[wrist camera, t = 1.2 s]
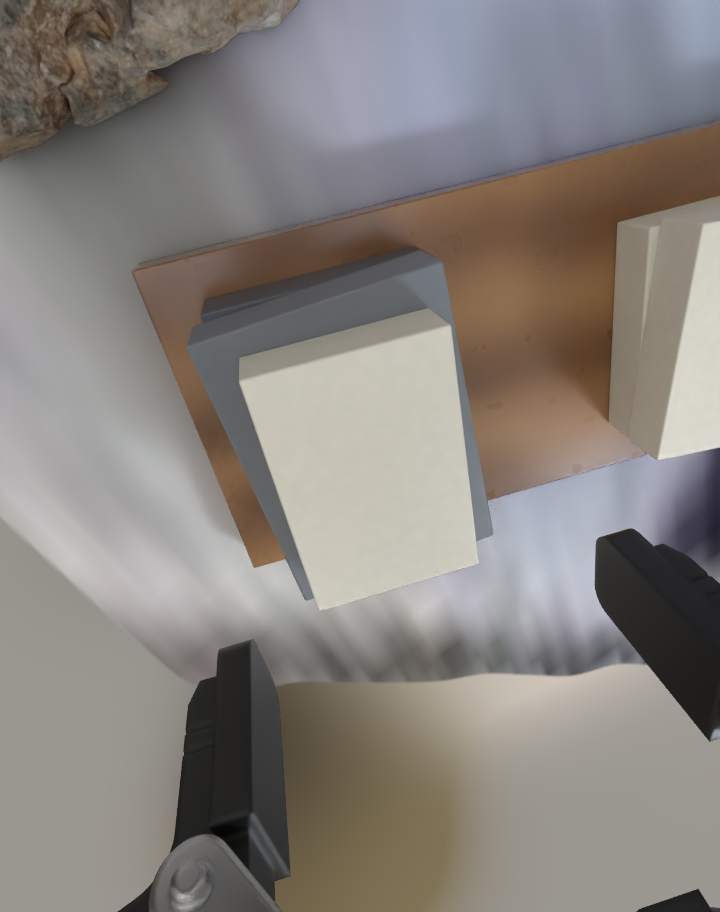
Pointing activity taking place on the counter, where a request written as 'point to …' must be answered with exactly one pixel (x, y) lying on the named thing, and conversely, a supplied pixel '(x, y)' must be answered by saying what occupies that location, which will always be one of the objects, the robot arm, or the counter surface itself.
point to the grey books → (306, 317)
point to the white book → (367, 454)
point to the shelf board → (471, 301)
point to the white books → (668, 330)
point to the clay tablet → (104, 55)
